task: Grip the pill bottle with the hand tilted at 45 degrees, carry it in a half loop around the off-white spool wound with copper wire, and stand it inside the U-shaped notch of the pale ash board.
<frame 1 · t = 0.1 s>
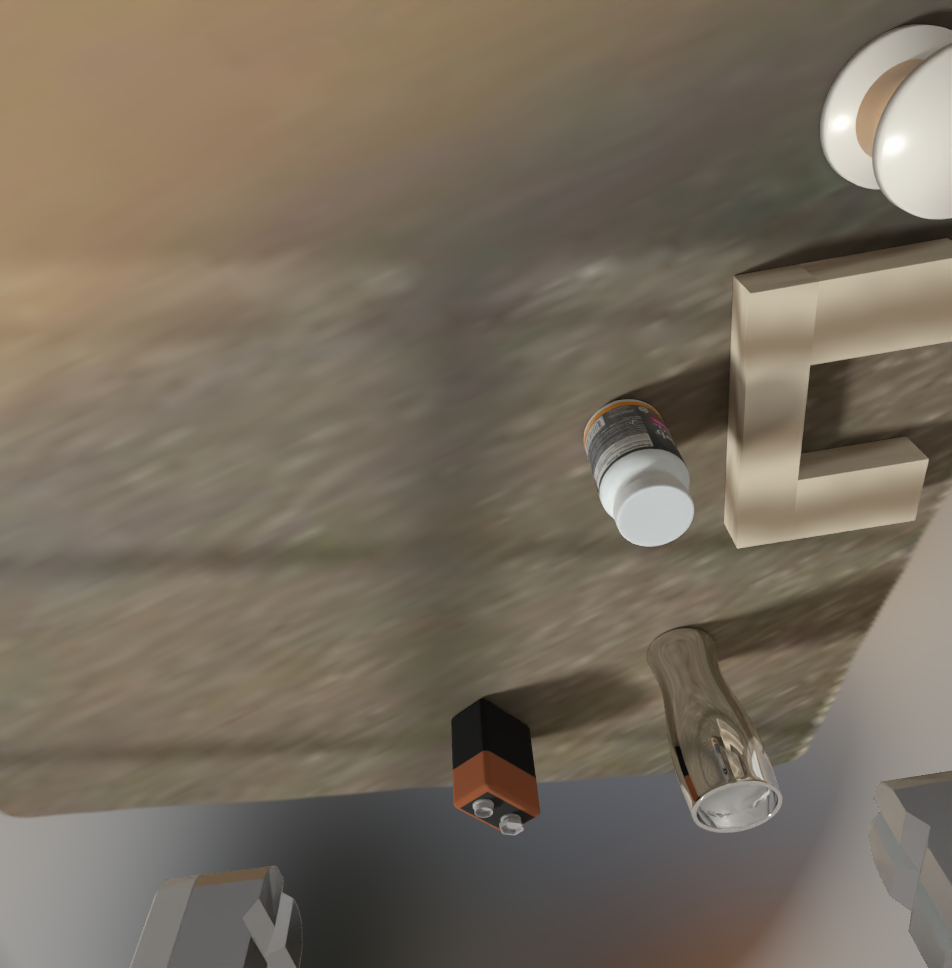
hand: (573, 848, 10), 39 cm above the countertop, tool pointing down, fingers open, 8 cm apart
beer glass: (679, 649, 66), on the countertop
battery: (490, 720, 70), on the countertop
pill bottle: (620, 429, 52), on the countertop
notched board: (822, 397, 51), on the countertop
spool: (893, 109, 41), on the countertop
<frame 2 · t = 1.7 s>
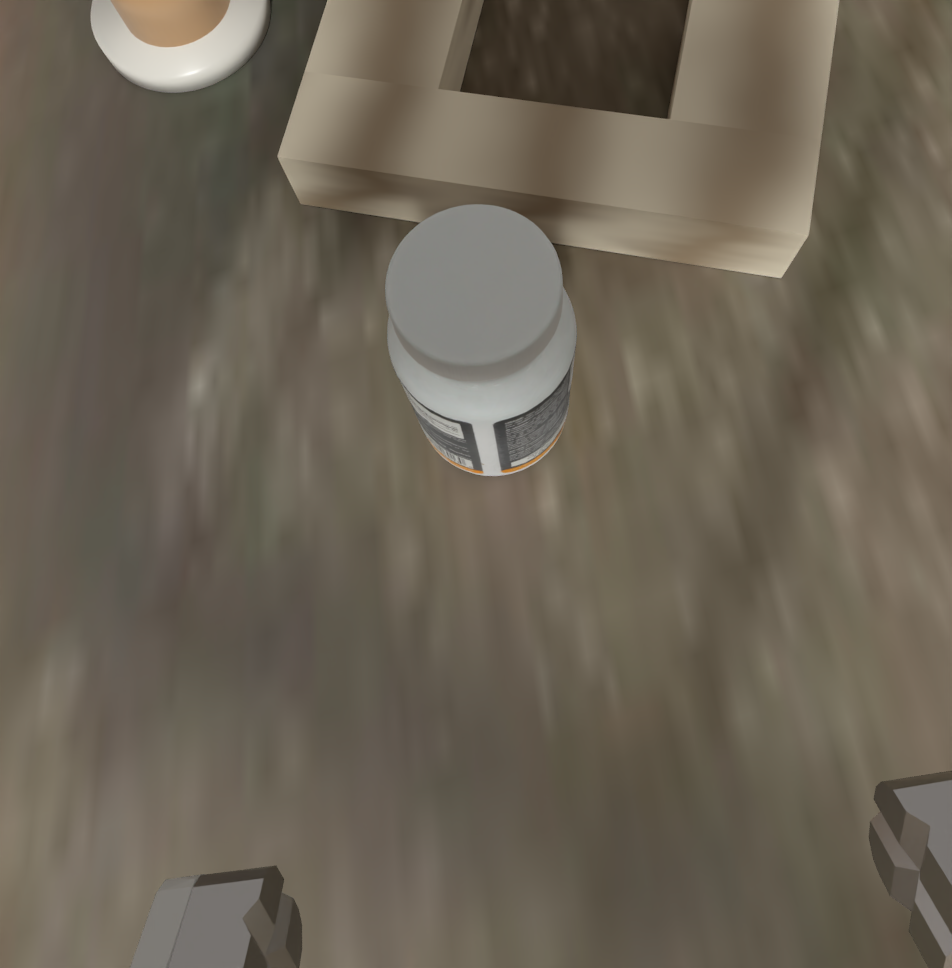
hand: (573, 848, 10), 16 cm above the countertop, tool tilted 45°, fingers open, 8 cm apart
pill bottle: (493, 411, 29), on the countertop
notched board: (561, 106, 32), on the countertop
spool: (186, 20, 34), on the countertop
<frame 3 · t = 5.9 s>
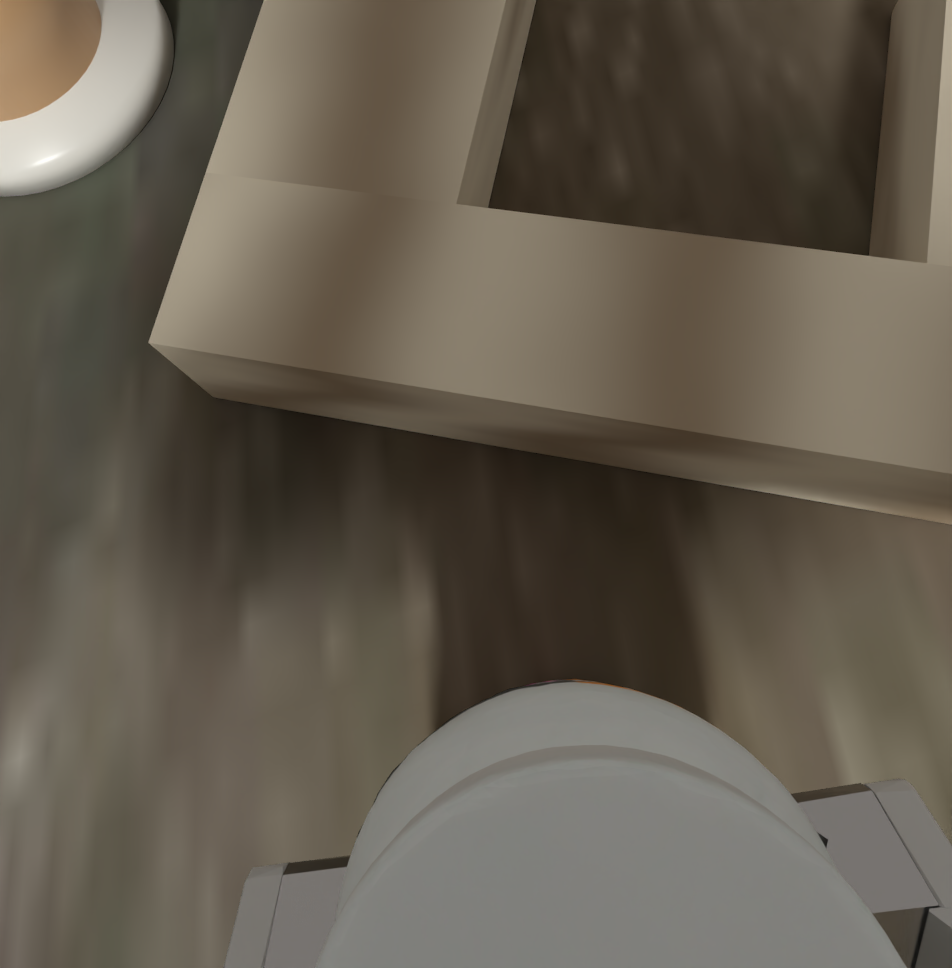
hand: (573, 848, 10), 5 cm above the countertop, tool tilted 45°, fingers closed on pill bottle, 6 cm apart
pill bottle: (572, 826, 15), on the countertop, touching gripper
notched board: (674, 213, 18), on the countertop
spool: (37, 72, 21), on the countertop
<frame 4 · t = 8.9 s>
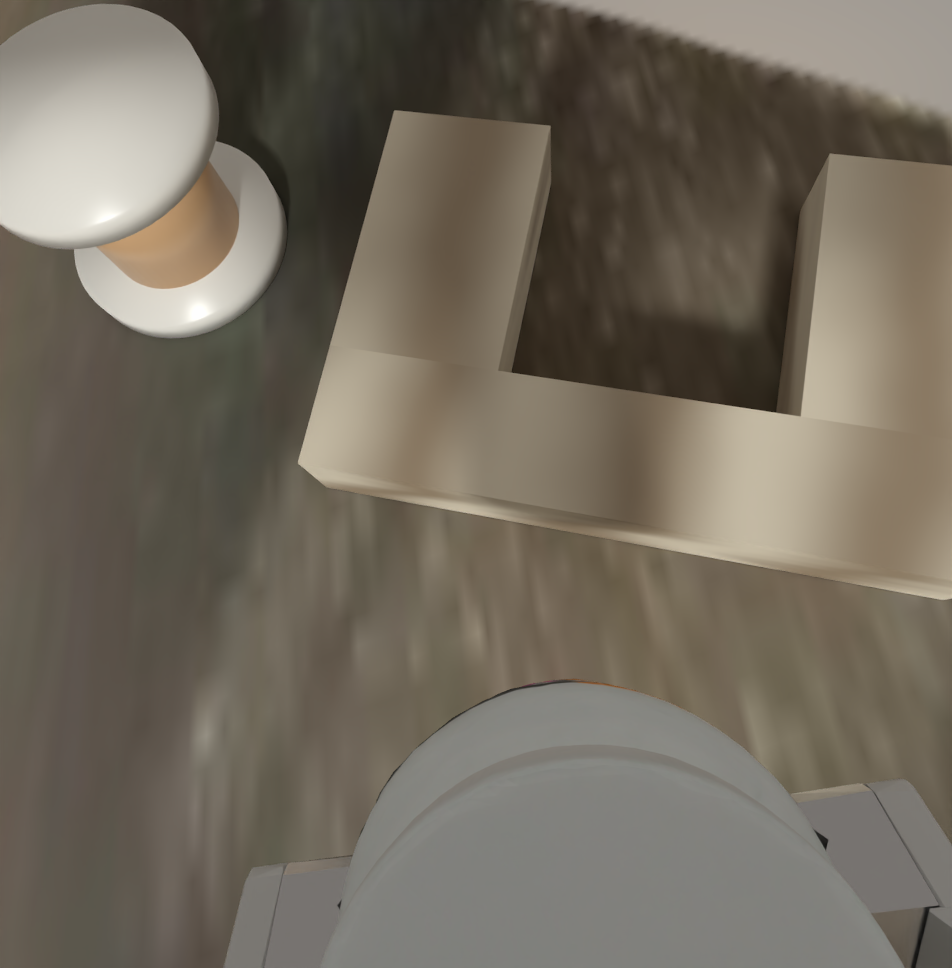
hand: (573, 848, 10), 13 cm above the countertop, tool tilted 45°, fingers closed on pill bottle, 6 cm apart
pill bottle: (571, 826, 15), point 8 cm above the countertop, touching gripper
notched board: (645, 358, 26), on the countertop
spool: (187, 244, 29), on the countertop
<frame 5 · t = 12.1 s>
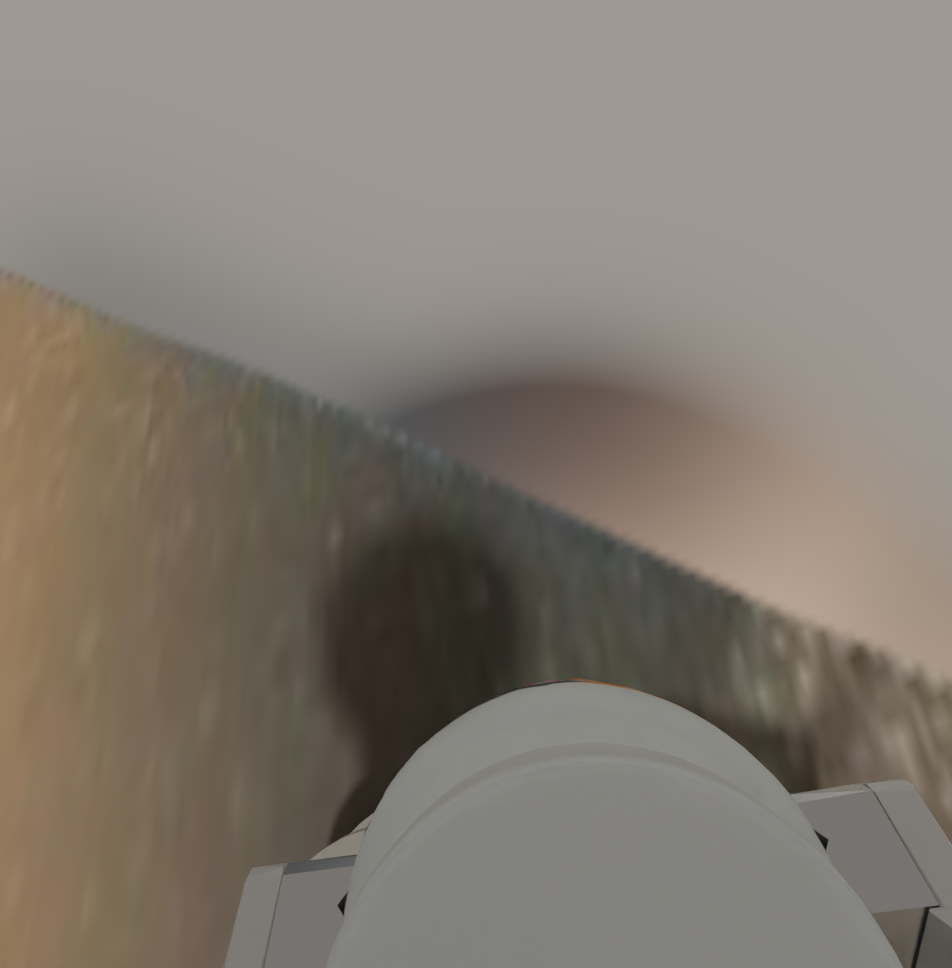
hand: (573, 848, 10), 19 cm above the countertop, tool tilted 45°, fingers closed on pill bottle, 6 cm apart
pill bottle: (572, 824, 15), point 13 cm above the countertop, touching gripper
spool: (432, 909, 27), on the countertop
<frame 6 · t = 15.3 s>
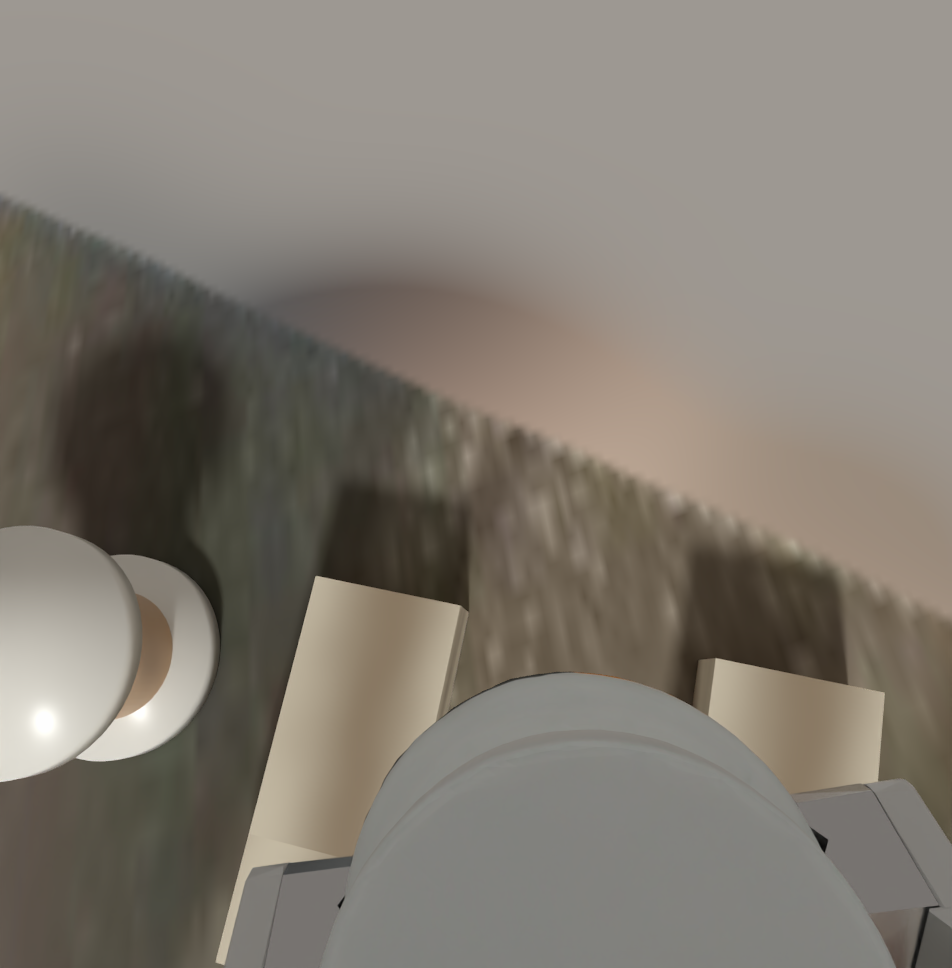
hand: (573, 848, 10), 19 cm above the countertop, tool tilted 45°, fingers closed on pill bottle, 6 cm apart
pill bottle: (570, 816, 15), point 13 cm above the countertop, touching gripper
notched board: (550, 811, 27), on the countertop
spool: (125, 655, 30), on the countertop
when the fingers open (6 cm above the countertop, at t = 18.4 s): pill bottle stays where it is, on the countertop.
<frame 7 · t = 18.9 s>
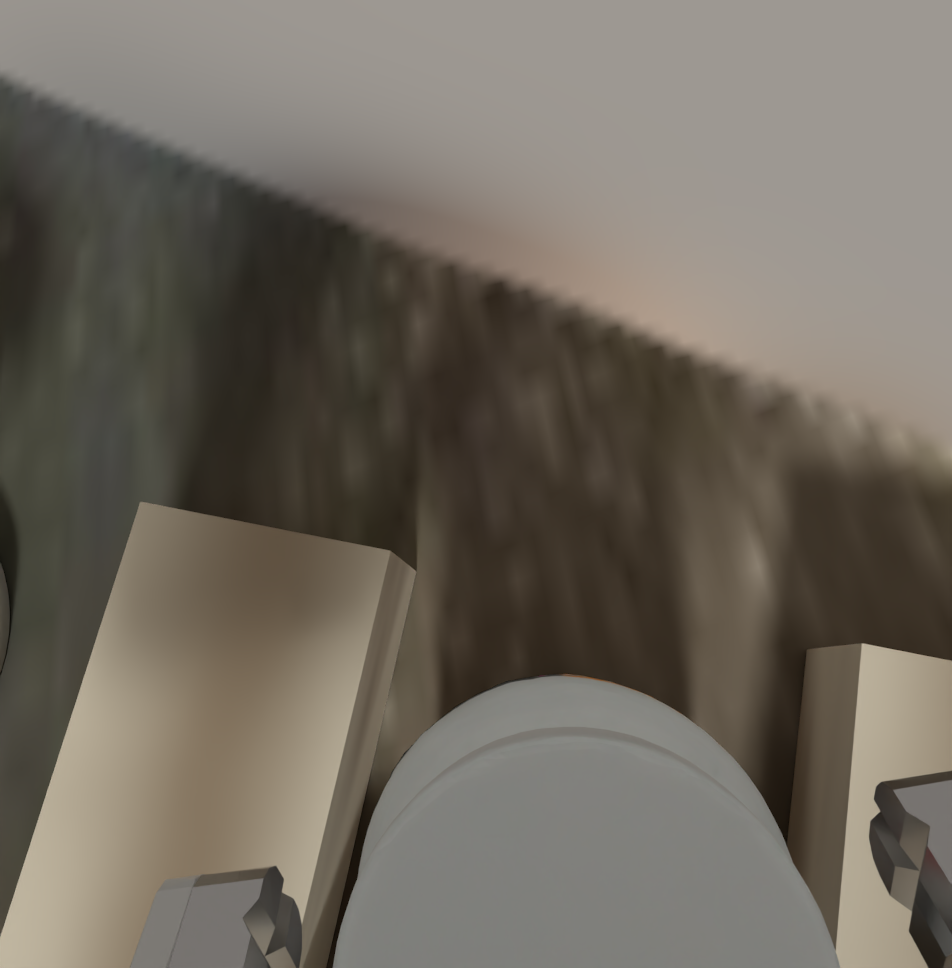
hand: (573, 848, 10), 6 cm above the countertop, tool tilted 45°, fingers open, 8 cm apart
pill bottle: (564, 808, 16), on the countertop
notched board: (553, 914, 16), on the countertop
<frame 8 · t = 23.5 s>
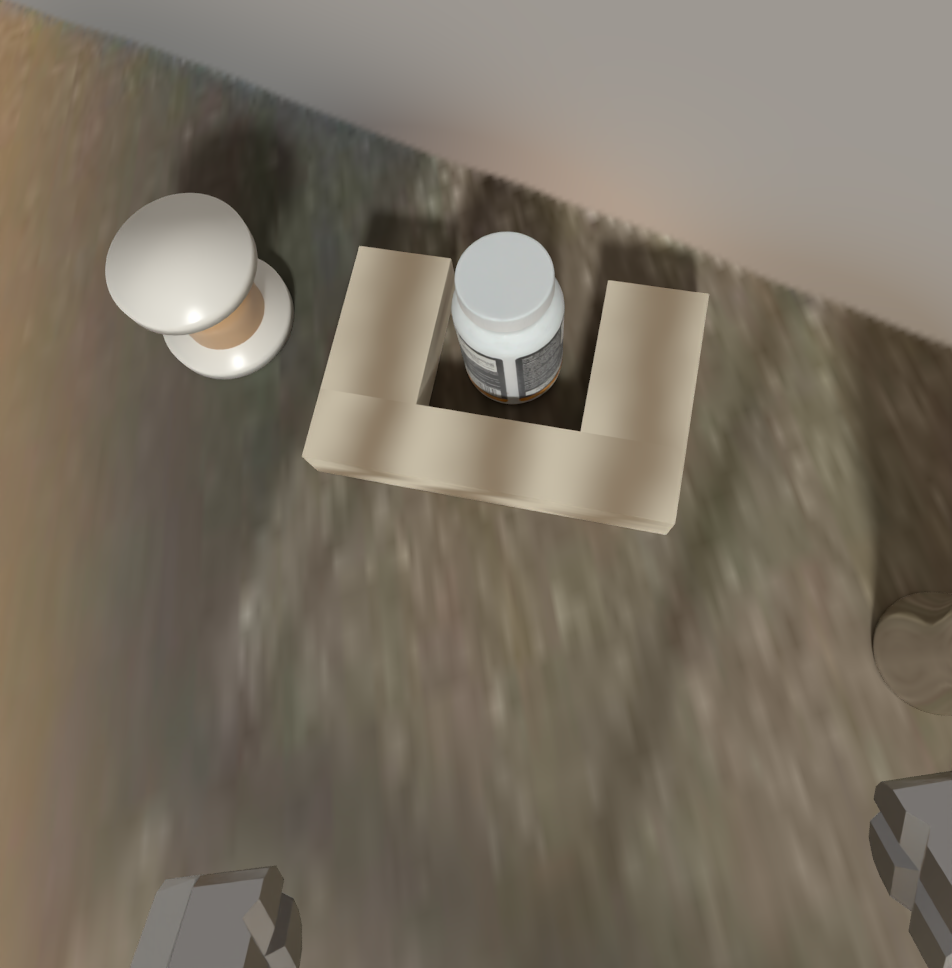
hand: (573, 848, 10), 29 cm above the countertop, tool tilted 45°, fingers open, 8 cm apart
beer glass: (932, 652, 38), on the countertop
pill bottle: (513, 364, 44), on the countertop
notched board: (508, 395, 43), on the countertop
spool: (231, 319, 46), on the countertop
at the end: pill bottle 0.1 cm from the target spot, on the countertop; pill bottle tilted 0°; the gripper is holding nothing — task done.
